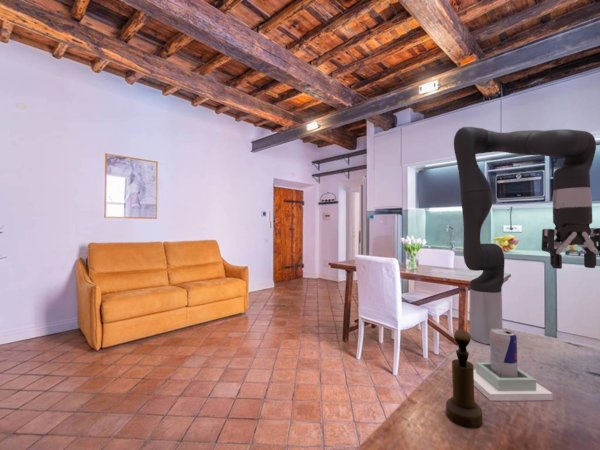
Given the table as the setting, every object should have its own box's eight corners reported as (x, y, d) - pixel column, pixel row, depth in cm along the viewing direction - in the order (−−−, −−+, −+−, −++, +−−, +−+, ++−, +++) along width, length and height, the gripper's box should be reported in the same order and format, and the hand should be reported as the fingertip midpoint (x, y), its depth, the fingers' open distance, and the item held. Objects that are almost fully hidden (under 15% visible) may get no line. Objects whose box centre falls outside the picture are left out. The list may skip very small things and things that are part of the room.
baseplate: (463, 375, 76) (462, 360, 76) (516, 375, 76) (516, 359, 76) (490, 400, 65) (490, 383, 65) (552, 400, 65) (552, 382, 65)
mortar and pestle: (450, 403, 64) (448, 322, 64) (484, 415, 60) (482, 329, 60) (442, 419, 59) (441, 331, 59) (479, 433, 55) (477, 338, 55)
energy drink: (523, 386, 68) (522, 335, 68) (501, 387, 67) (500, 336, 68) (506, 374, 73) (505, 327, 73) (486, 375, 73) (484, 328, 73)
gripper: (585, 207, 79) (586, 265, 79) (532, 207, 79) (534, 266, 79) (614, 204, 71) (616, 269, 71) (556, 205, 72) (558, 270, 71)
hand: (573, 268), depth 75 cm, fingers open, 8 cm apart
